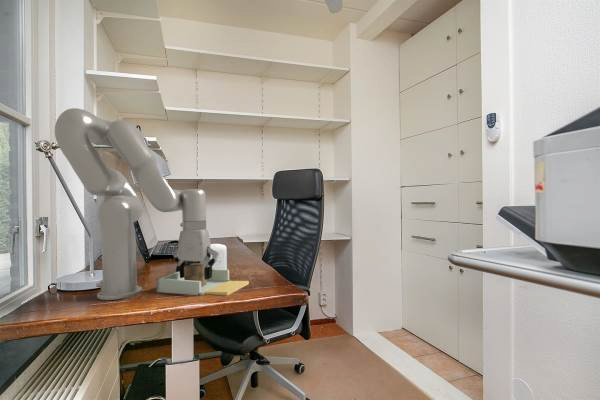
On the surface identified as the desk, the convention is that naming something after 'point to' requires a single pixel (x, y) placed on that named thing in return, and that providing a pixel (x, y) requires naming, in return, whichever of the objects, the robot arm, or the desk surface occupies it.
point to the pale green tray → (190, 283)
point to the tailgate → (227, 288)
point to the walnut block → (195, 273)
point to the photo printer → (219, 256)
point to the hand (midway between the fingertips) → (195, 277)
